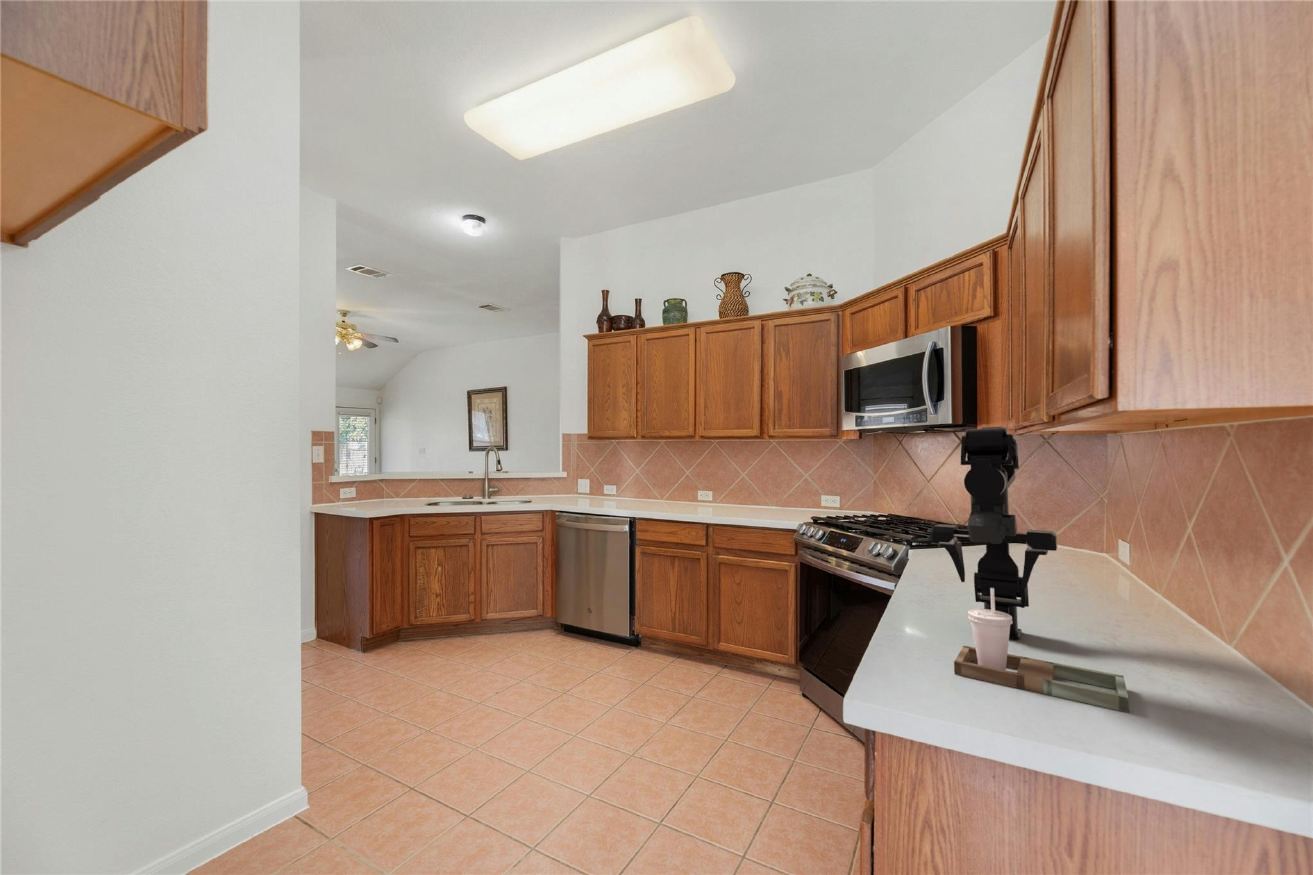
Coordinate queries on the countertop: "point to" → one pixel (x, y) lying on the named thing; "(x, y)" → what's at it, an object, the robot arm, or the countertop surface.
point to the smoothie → (991, 635)
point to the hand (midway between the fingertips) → (992, 585)
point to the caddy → (1048, 679)
